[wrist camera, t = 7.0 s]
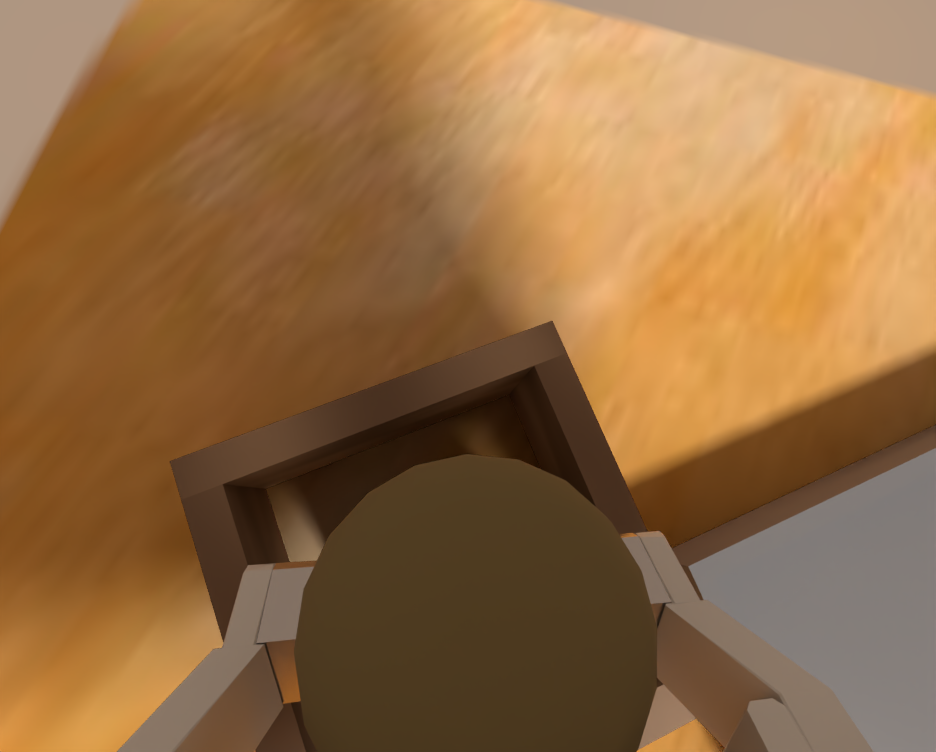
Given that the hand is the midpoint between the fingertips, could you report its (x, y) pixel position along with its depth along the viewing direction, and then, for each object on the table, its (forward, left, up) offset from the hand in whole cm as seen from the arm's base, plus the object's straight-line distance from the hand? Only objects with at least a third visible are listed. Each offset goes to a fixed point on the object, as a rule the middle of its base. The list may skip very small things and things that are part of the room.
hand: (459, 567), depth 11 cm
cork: (0, +1, -7) cm, 7 cm away
